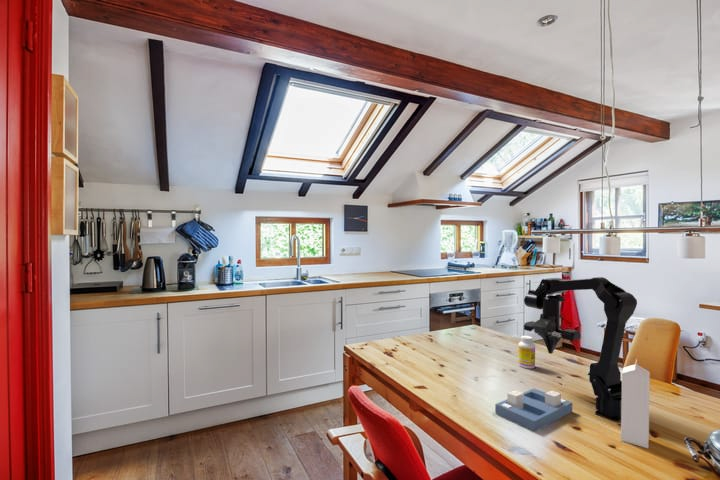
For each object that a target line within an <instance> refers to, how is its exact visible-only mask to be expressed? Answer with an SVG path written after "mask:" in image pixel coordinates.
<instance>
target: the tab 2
mask: <svg viewBox="0 0 720 480" xmlns="http://www.w3.org/2000/svg"><path fill="white" fill-rule="evenodd" d="M561 398H562V393H560V392H557V391H554V390H553V389H552V390H550V391H547V392H545V404H547V405H549V406H552V407H554V408H556V407H558V406H560V405H561Z"/></svg>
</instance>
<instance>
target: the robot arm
mask: <svg viewBox="0 0 720 480" xmlns="http://www.w3.org/2000/svg"><path fill="white" fill-rule="evenodd" d="M581 290H582V291H583V290H584V291H586V290H592V291H593V292H594V293H595V295H596V297H597V298H598V300H600V302H602V303H603V311H604V313H605V317H606V324H605V329H604V334H603V340H602V343H601V344H602V346H601V350H600V355H599V360H598V361H597V362H592V363H590V365H589V372H588V373H587V376H588V377H589V378H588V379H589V383H590V384H591V387H592V390H593V391H592V392H593V394H594V396H595V410H596V411H595V412H594V414H595V415H598V416H600V417H604V419H605V418H606V419H609V420H611V421H613V422H616V423H619V422H621V409H622V372H621V371H620V369H619V365H618V363H619V357H620V353H621V349H622V345H623V344H622V343H623V339H624V336H625V335H624V334H625V329H626V324H627V322H629V320H630V318H631V317H632V316H633V315H634V312H635V310H636V308H637V305H638V300H637V298H636V297H635V296H634V295H633V294H632V293H630V292H627V291H626V290H624V289H623V288H622V287H620V286H618V285H616V284H614V283H613V282H611V281H610V280H609V279H607V278H606V277H604V276H600V277H599V276H597V277H592V278H591V277H590V278H581V279H580V278H579V279H565V278H558V277H554V278H553V277H550V278H543V279H541V281H540V282H539V284H538V286H537V288H536V289H535V290H534V289H528V292H527V293H526V294H525V296H524V298H523V302H524V305H525V306H526V307H528V308H533V309H537V310H542V313H541V314H540V315H539V319H537V320H536V321H533V320H532V321H527V322H525V323H524V324H523V330H524V331H528V332H532V331H533V332H534V333H535V334H537V335H538V336H539V337H541V338H542V339H543V342H544V344H545V347H546V349H547V353H548V354H553V353H554V351H555V349H556V347H557V345H558V344H559V342H560V340H561V339H562V340H567V341H570V342H572V341H573V342H574V341H577V340H580V339H581V332H580V330H576V329H571V328H567V329H564V330H563V329H562V325H560V322H561V321H560V318H562V314H560V313H561V312H560V311H561V310H560V309H561V307H560V305H561V302H565V301H566V299H565V298H564V297H563V296H562V294H561V293H566V292H568V291H581Z"/></svg>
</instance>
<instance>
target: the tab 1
mask: <svg viewBox="0 0 720 480" xmlns="http://www.w3.org/2000/svg"><path fill="white" fill-rule="evenodd" d="M523 393H524V392H520V391H519V390H515V389H514V390H512V391H509V392H507V399H508V404H509V405H512V406H514V407H516V408H519V409H521V410H522V409H523Z"/></svg>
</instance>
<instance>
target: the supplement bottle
mask: <svg viewBox="0 0 720 480" xmlns="http://www.w3.org/2000/svg"><path fill="white" fill-rule="evenodd" d="M520 340H521V341H520V342H518V357H517V358H518V366H519V367H521V368H523V369H530V370H531V369H534V368H535V366H536V344H535V343H533V341H534V338H533V337H532V336H530V335H521V337H520Z"/></svg>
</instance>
